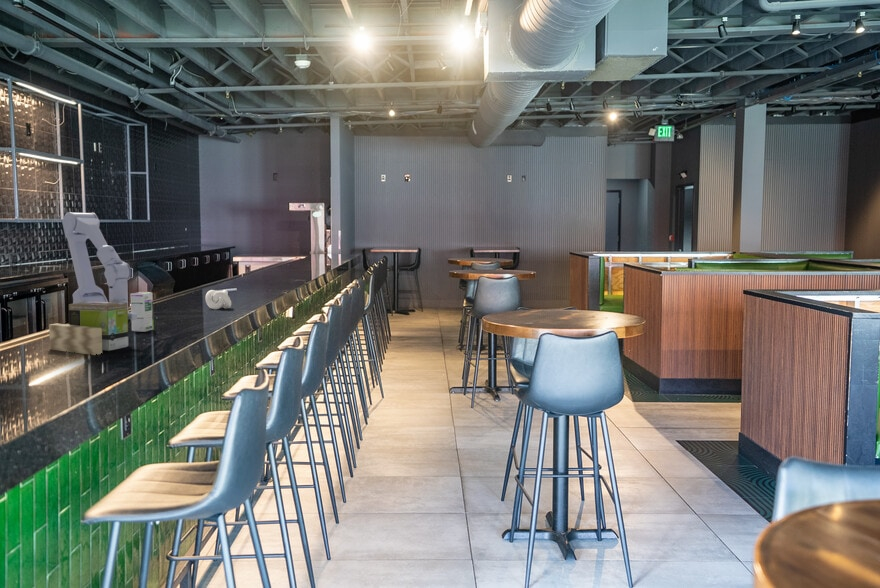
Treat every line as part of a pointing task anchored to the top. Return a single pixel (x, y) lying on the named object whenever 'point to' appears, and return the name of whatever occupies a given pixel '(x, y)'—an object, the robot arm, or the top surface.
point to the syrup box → (142, 311)
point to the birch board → (75, 338)
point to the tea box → (103, 321)
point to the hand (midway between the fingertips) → (119, 339)
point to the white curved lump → (218, 299)
